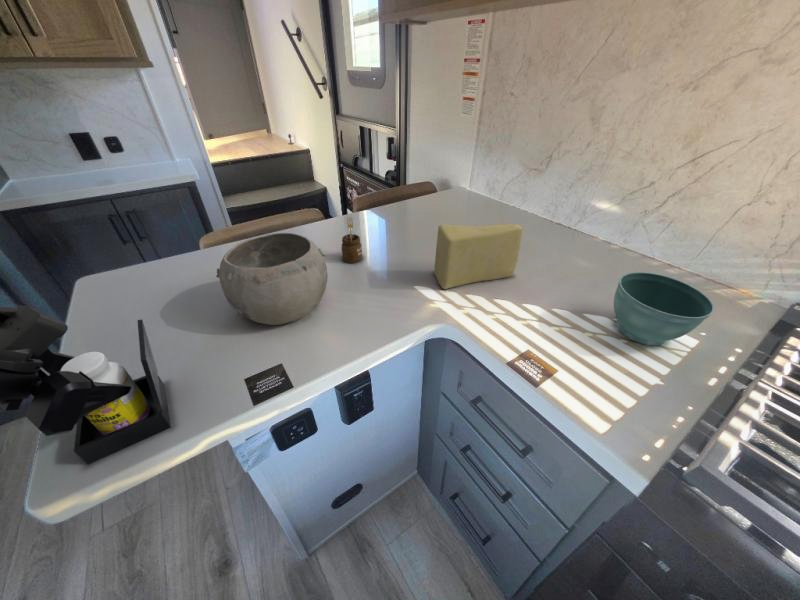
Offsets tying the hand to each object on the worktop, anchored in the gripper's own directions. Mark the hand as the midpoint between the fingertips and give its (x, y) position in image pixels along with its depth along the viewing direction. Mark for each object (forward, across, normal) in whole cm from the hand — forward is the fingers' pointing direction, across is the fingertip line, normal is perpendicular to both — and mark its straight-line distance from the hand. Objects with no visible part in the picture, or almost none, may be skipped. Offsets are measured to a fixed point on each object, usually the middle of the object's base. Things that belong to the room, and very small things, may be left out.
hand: (112, 377), depth 47 cm
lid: (+2, -2, -3) cm, 4 cm away
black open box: (+5, 0, +7) cm, 9 cm away
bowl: (+30, +2, -17) cm, 35 cm away
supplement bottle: (+5, 0, +7) cm, 9 cm away
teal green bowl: (+53, -75, -40) cm, 100 cm away
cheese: (+55, -36, -42) cm, 78 cm away
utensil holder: (+50, +1, -37) cm, 62 cm away
